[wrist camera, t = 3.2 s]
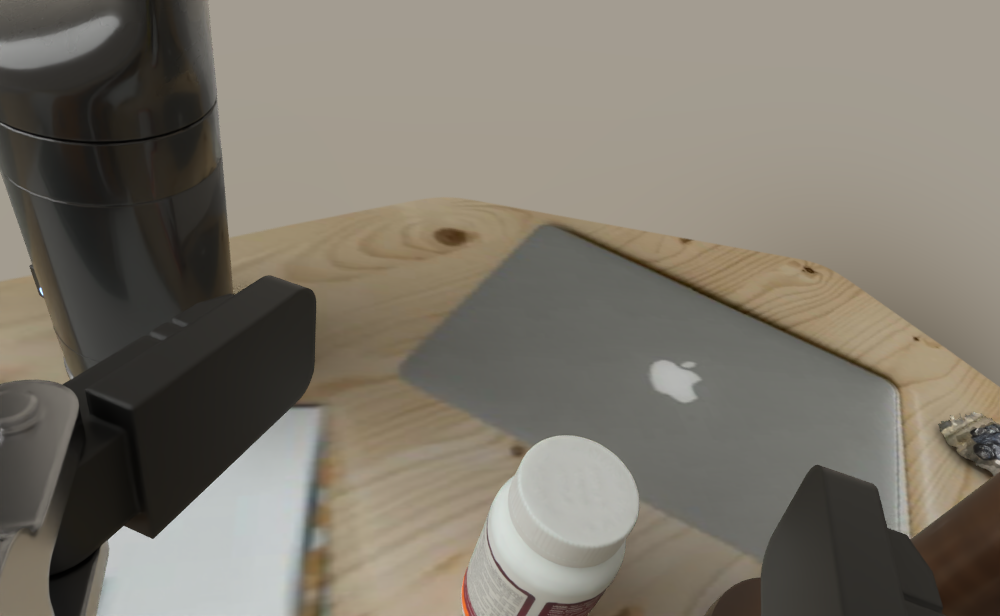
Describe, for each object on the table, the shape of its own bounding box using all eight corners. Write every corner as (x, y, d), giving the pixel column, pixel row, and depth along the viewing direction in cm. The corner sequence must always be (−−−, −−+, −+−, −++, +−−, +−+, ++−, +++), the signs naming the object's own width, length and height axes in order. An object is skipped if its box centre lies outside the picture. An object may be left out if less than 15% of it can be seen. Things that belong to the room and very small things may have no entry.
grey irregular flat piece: (927, 444, 49) (943, 429, 48) (948, 392, 54) (963, 377, 53) (1019, 505, 47) (1039, 491, 45) (1032, 444, 52) (1050, 430, 51)
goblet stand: (670, 715, 31) (1061, 408, 15) (723, 554, 38) (1029, 231, 22) (874, 858, 29) (1593, 670, 13) (891, 659, 36) (1369, 378, 20)
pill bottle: (584, 573, 36) (663, 456, 28) (558, 689, 31) (643, 586, 24) (480, 529, 36) (530, 403, 29) (439, 637, 32) (486, 520, 24)
